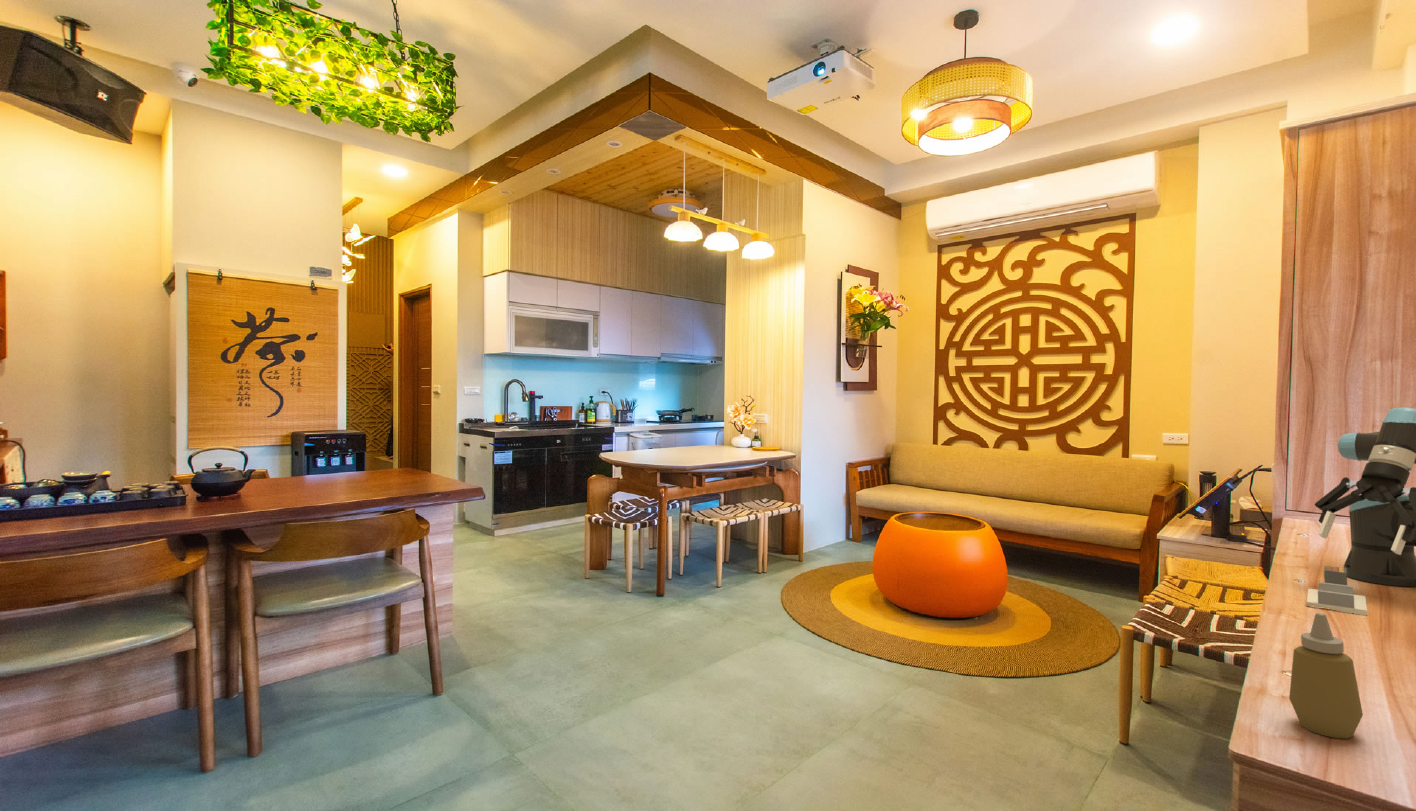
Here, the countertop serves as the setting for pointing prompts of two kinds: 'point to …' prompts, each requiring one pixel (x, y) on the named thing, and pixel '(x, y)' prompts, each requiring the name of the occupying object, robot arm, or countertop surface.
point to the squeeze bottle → (1324, 684)
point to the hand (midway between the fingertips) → (1357, 544)
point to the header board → (1337, 598)
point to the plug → (1335, 575)
